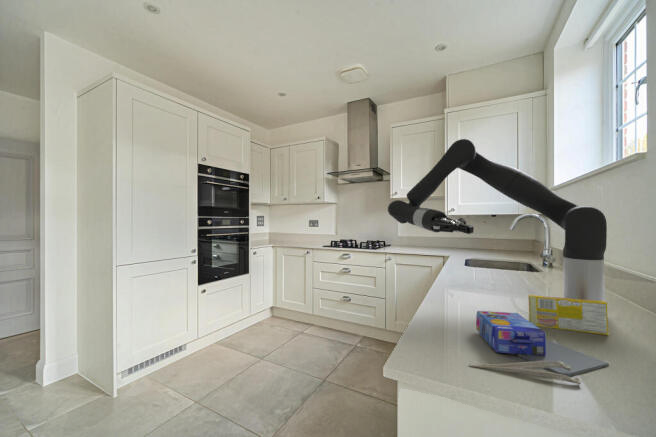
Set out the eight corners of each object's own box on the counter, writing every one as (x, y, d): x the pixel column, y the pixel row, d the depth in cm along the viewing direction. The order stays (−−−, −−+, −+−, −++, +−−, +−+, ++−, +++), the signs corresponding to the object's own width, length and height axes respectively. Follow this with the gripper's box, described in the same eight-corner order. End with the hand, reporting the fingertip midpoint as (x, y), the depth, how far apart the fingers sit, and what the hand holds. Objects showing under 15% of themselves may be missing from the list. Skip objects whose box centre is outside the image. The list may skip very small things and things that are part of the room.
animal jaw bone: (567, 366, 51) (567, 358, 51) (582, 387, 47) (582, 378, 46) (466, 362, 56) (466, 354, 56) (472, 380, 52) (471, 372, 52)
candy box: (604, 332, 70) (604, 300, 70) (609, 336, 68) (608, 303, 68) (528, 323, 76) (528, 293, 76) (530, 325, 74) (530, 295, 74)
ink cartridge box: (517, 311, 68) (554, 337, 54) (518, 332, 68) (554, 364, 54) (475, 309, 70) (500, 333, 56) (475, 330, 70) (500, 360, 56)
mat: (531, 335, 68) (531, 333, 68) (608, 365, 54) (608, 363, 54) (492, 342, 64) (492, 340, 64) (564, 377, 50) (564, 374, 50)
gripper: (414, 211, 92) (455, 221, 77) (443, 206, 97) (488, 214, 81) (414, 232, 94) (454, 246, 78) (443, 226, 99) (486, 238, 83)
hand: (471, 230), depth 80 cm, fingers closed
